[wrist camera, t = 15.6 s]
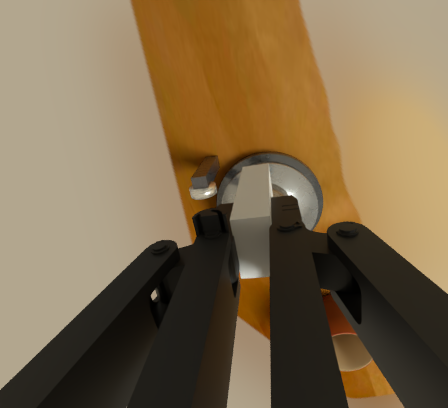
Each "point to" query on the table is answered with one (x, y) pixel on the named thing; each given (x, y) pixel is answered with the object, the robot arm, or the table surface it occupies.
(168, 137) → the table surface
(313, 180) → the turntable base
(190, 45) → the table surface
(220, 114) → the table surface
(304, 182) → the turntable
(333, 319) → the mug
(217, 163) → the dial stand
